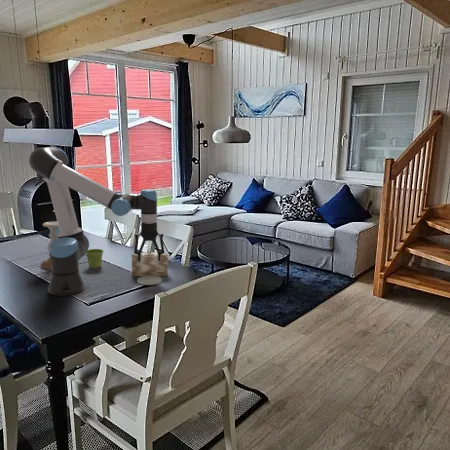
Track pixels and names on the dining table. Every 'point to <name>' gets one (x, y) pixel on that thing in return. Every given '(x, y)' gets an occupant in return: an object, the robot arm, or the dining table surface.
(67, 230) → the robot arm
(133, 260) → the birch screen
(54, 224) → the candle holder
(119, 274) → the dining table surface
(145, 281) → the sage mat
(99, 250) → the plant pot
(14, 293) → the dining table surface
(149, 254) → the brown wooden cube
